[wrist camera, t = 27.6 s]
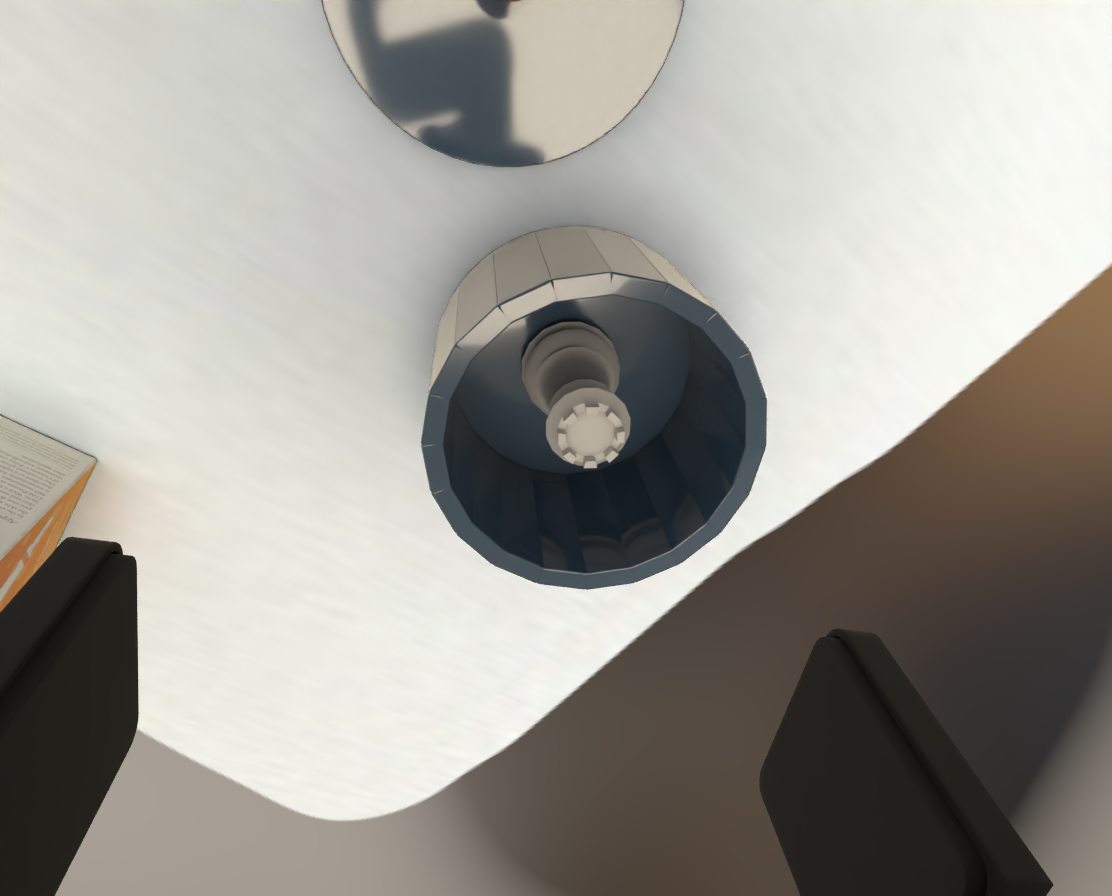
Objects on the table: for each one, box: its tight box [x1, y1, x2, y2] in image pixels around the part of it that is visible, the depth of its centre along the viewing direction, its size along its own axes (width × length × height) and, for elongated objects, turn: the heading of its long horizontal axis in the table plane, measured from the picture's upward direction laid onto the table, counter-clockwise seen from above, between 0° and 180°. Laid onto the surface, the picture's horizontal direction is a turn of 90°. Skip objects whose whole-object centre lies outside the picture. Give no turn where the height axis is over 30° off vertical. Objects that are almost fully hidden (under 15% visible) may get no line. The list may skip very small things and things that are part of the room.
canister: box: [421, 226, 767, 590], centre depth 33 cm, size 13×13×9 cm
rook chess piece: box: [522, 322, 630, 468], centre depth 33 cm, size 4×4×8 cm
